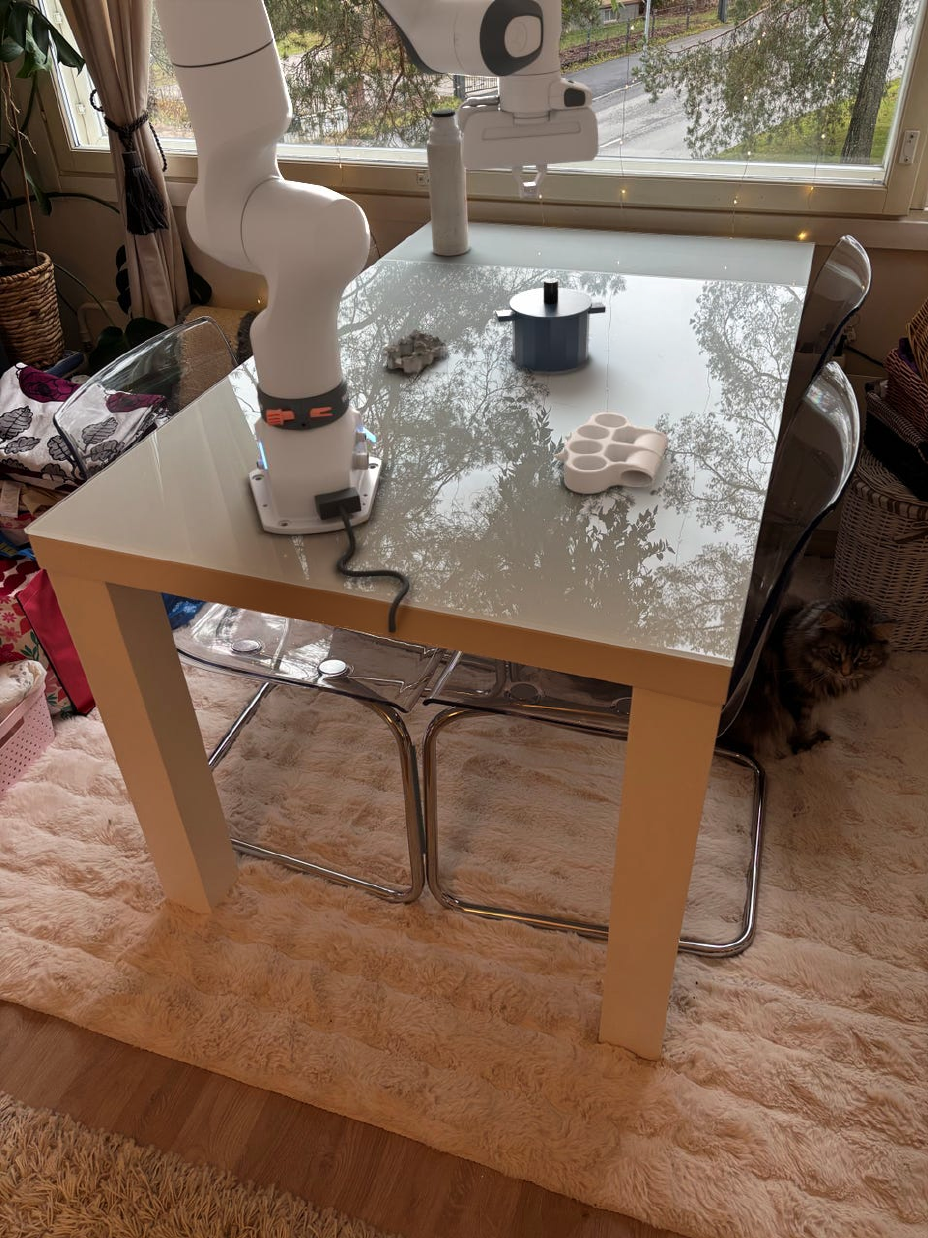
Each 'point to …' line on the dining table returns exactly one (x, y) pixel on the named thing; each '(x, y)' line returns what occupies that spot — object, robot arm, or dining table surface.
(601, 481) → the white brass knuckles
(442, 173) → the thermos bottle
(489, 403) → the dining table surface
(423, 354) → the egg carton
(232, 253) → the robot arm
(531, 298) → the lid
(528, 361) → the pot
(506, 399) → the dining table surface
